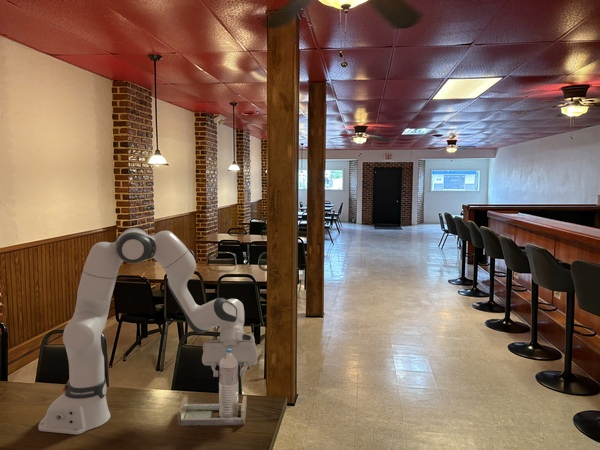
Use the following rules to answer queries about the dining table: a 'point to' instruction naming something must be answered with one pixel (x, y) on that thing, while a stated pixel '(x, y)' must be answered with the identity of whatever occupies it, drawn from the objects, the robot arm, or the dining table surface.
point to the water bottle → (228, 385)
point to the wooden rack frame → (206, 414)
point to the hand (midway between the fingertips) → (228, 376)
